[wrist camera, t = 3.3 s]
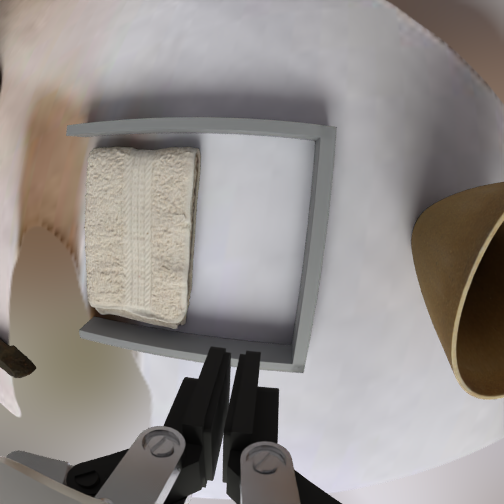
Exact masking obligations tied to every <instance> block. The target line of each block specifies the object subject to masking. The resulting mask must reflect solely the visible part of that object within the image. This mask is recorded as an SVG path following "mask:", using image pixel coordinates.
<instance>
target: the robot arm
mask: <svg viewBox="0 0 504 504" xmlns="http://www.w3.org/2000/svg"><path fill="white" fill-rule="evenodd" d="M260 358H261V352H256V351H247V350H246V354H240V356H239V361H238V365H237V370H236V375H235V380H234V384H233V389H232V394H231V398H230V403H229V391H230V369H231V353H230V352H226V348H221V347H213V346H211V347H210V349H209V352H208V354H207V357H206V360H205V362H204V365H203V368H202V371H201V373H200V376H199V379H195V378H189V377H185V378H184V380H183V382H182V384H181V386H180V389H179V391H178V393H177V396H176V398H175V400H174V403H173V405H172V407H171V410H170V412H169V414H168V417H167V419H166V421H165V424H164V426H155V427H151V428H148V429H146V430H144V431H143V432H142V433H141V434H140V435H139V436H138V437H137V439H136V440H135V442H134V443H133V445H132V446H131V447H130V449H126V450H123V451H121V452H117V453H114V454H111V455H108V456H104V457H101V458H97V459H94V460H90V461H87V462H83V463H80V464H77V465H75V466H72V465H70V464H69V463H68V462H65V461H60V460H56V459H51V458H47V457H43V456H39V455H35V454H32V453H28V452H25V451H14V452H11V453H10V454H8V455H7V457H3V456H0V504H189V502H190V500H191V497H192V494H193V493H195V492H197V491H199V490H201V489H202V487H205V488H206V484H207V480H211V481H213V479H214V475H215V470H216V466H217V461H218V456H219V452H220V447H221V443H222V438H223V482H225V483H227V492H226V494H227V495H228V496H229V497H230V498H231V499H232V500H234V501H235V502H236V504H342V503H340V502H339V501H337V500H336V499H334V498H333V497H331V496H330V495H328V494H327V493H326V492H324V491H323V490H321V489H320V488H318V487H317V486H316V485H314V484H313V483H311V482H310V481H309V480H307V479H306V478H305V477H303V476H302V475H301V474H299V473H298V472H297V471H295V470H294V467H293V462H292V458H291V455H290V453H289V452H288V451H287V449H286V448H284V447H283V446H281V445H279V444H277V442H278V407H279V388H267V387H257V386H258V377H259V368H260ZM223 433H224V437H223Z"/></svg>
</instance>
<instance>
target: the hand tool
mask: <svg viewBox="0 0 504 504" xmlns="http://www.w3.org/2000/svg"><path fill="white" fill-rule="evenodd" d="M0 367H1V368H2V369H3V370H5V371H6V372H7V373H8V374H9V375H11V376H13V377H15V378H22V377H24V376H27V375H29V374H31V373H32V372H33V371H34V370H35V369H36V366H35V365H34V364H33V363H32V362H31V361H30V360H29V359H28V358H27V356H25V355H24V354H23V353H22V352H20V351H19V350H18V349H17V348H16V347H15V346H14V345H13V346H9V345H7V344H6V343H5V342H3V341H2V340H1V339H0Z"/></svg>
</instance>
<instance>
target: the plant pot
mask: <svg viewBox="0 0 504 504" xmlns="http://www.w3.org/2000/svg"><path fill="white" fill-rule="evenodd" d="M411 245H412V254H413V260H414V265H415V270H416V274H417V278H418V282H419V285H420V288H421V292H422V295H423V298H424V301H425V304H426V307H427V309H428V312H429V315H430V318H431V320H432V323H433V325H434V328H435V330H436V332H437V335H438V337H439V340H440V342H441V344H442V346H443V349H444V351H445V353H446V356H447V358H448V361H449V363H450V365H451V368H452V370H453V372H454V375H455V377H456V379H457V381H458V383H459V385H460V386H461V387H462V389H463V390H464V391H466V392H467V393H468V394H470V395H472V396H474V397H476V398H479V399H498V398H503V397H504V182H500V183H494V184H489V185H484V186H479V187H475V188H472V189H468V190H465V191H462V192H459V193H456V194H454V195H451V196H449V197H447V198H444V199H442V200H440V201H438V202H437V203H435V204H433V205H432V206H430V207H429V208H427V209H426V210H425V211H424V212H423V213H422V214H421V215H420V217H419V218H418V220H417V222H416V224H415V226H414V229H413V232H412V239H411Z"/></svg>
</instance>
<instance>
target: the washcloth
mask: <svg viewBox="0 0 504 504" xmlns="http://www.w3.org/2000/svg"><path fill="white" fill-rule="evenodd" d="M87 161H88V167H87V181H86V182H87V183H86V189H87V194H86V195H85V197H86V211H85V227H84V228H85V243H86V244H85V245H86V247H85V250H86V266H87V268H86V270H87V275H88V276H87V292H88V300H89V303H90V305H91V306H92V307H95V309H96V310H97V311H98V312H99V313H100V314H102V315H104V314H112V315H118V316H122V317H125V318H129V319H133V320H137V321H142V322H145V323H149V324H153V325H159V326H164V327H168V328H172V329H177V328H178V326H179V325H184V324H185V323H186V318H187V316H186V313H187V309H188V306H189V299H190V293H191V288H192V270H193V255H194V242H195V240H194V239H195V225H196V211H197V209H196V208H197V198H198V197H197V196H198V189H199V177H200V167H201V165H200V163H201V155H200V151H199V149H198V148H192V147H180V148H178V147H170V148H165V149H159V150H144V149H141V150H138V149H135V148H132V147H130V148H129V147H109V148H107V147H105V148H104V147H102V148H99V147H98V148H95V149H93V150H92V151H91V152H90V156H89V157H88V160H87Z"/></svg>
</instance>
